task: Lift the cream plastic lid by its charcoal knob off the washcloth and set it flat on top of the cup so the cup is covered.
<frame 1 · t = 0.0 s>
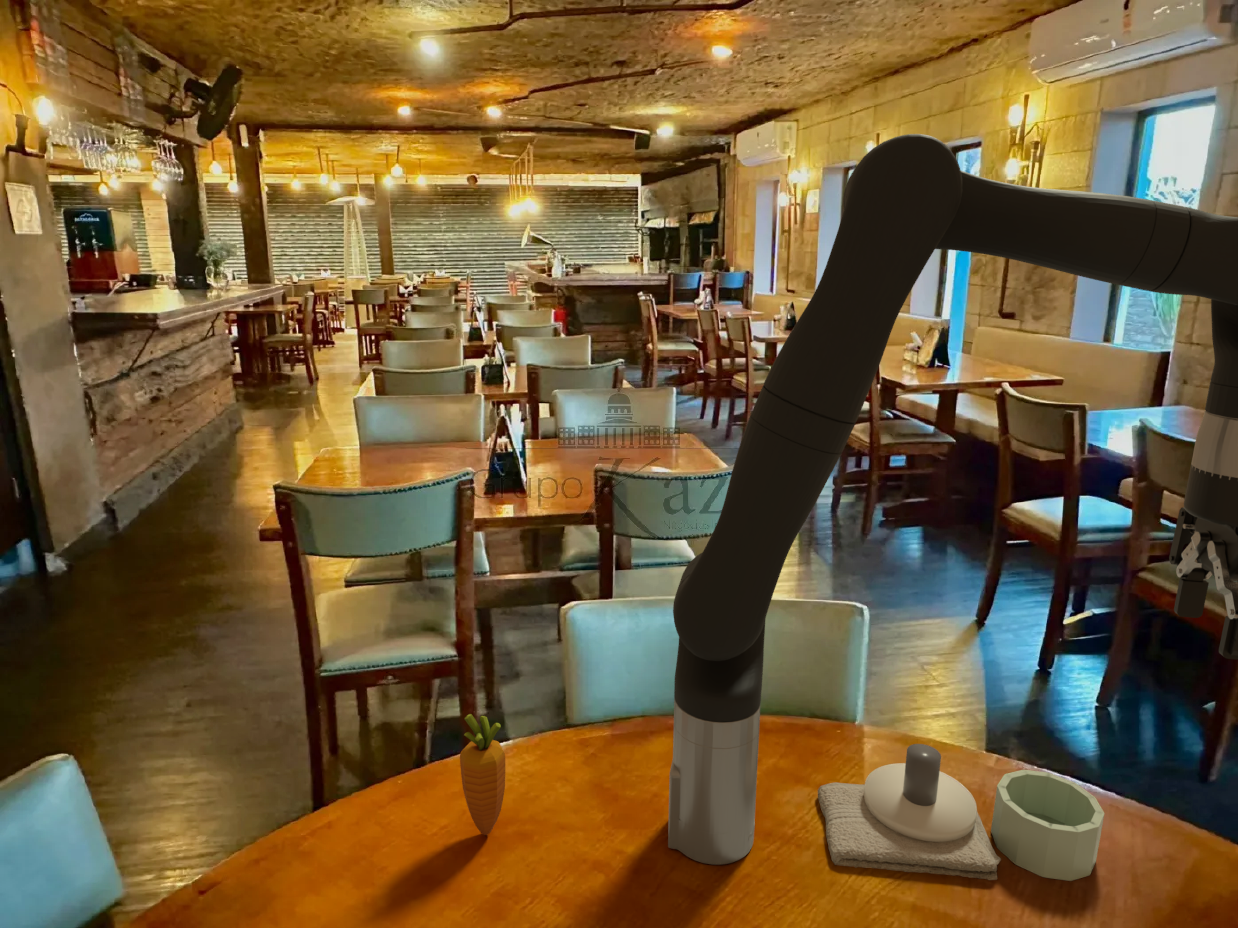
hand: (1209, 635, 73), 29 cm above the table, tool pointing down, fingers open, 8 cm apart
cup: (1042, 845, 88), on the table
lid: (918, 804, 91), point 2 cm above the table, touching washcloth
carrot: (486, 835, 89), on the table
washcloth: (903, 841, 90), on the table, touching lid
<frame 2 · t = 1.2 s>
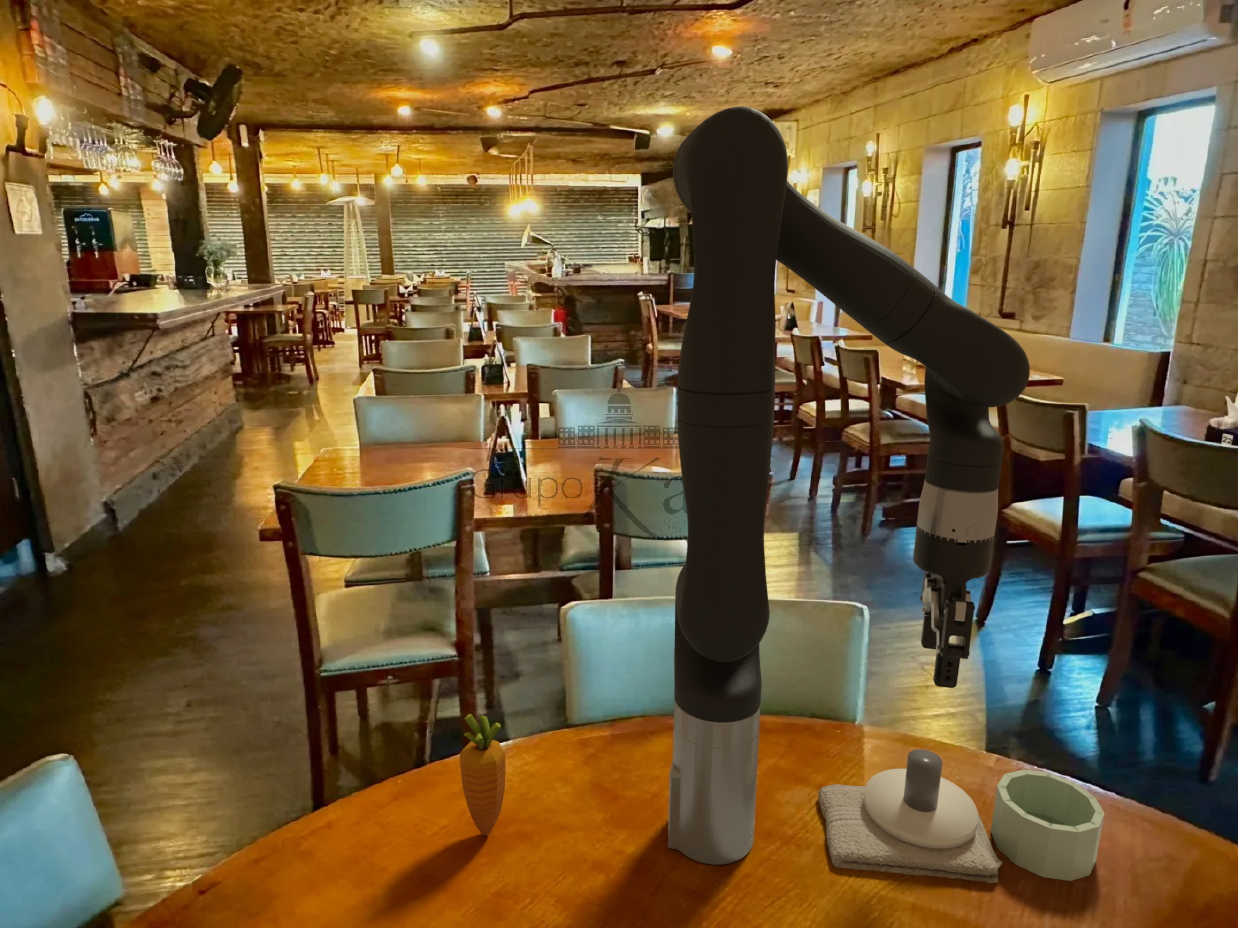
hand: (937, 665, 87), 20 cm above the table, tool pointing down, fingers open, 8 cm apart
nothing on the table moved.
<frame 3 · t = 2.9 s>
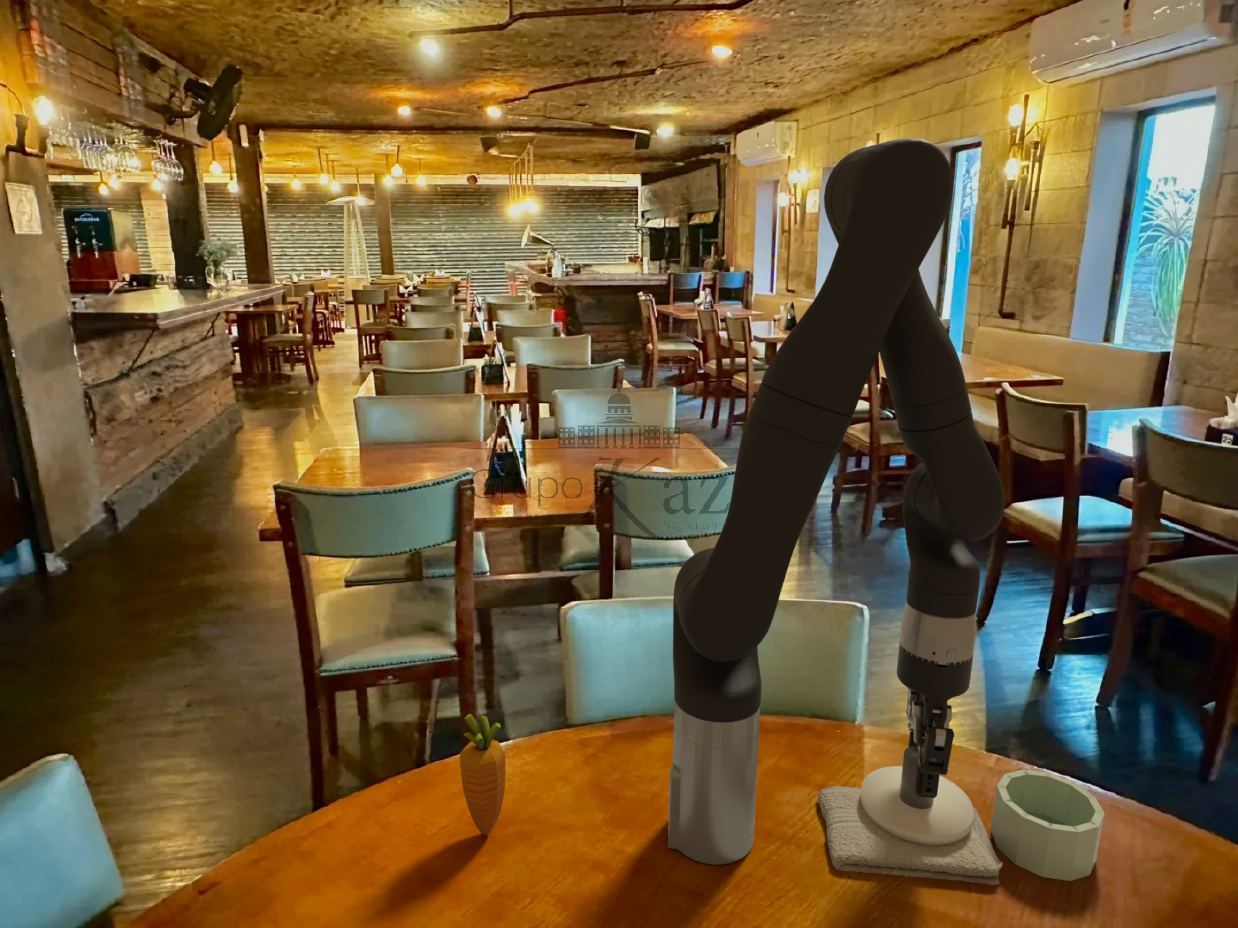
hand: (921, 777, 90), 6 cm above the table, tool pointing down, fingers open, 5 cm apart
nothing on the table moved.
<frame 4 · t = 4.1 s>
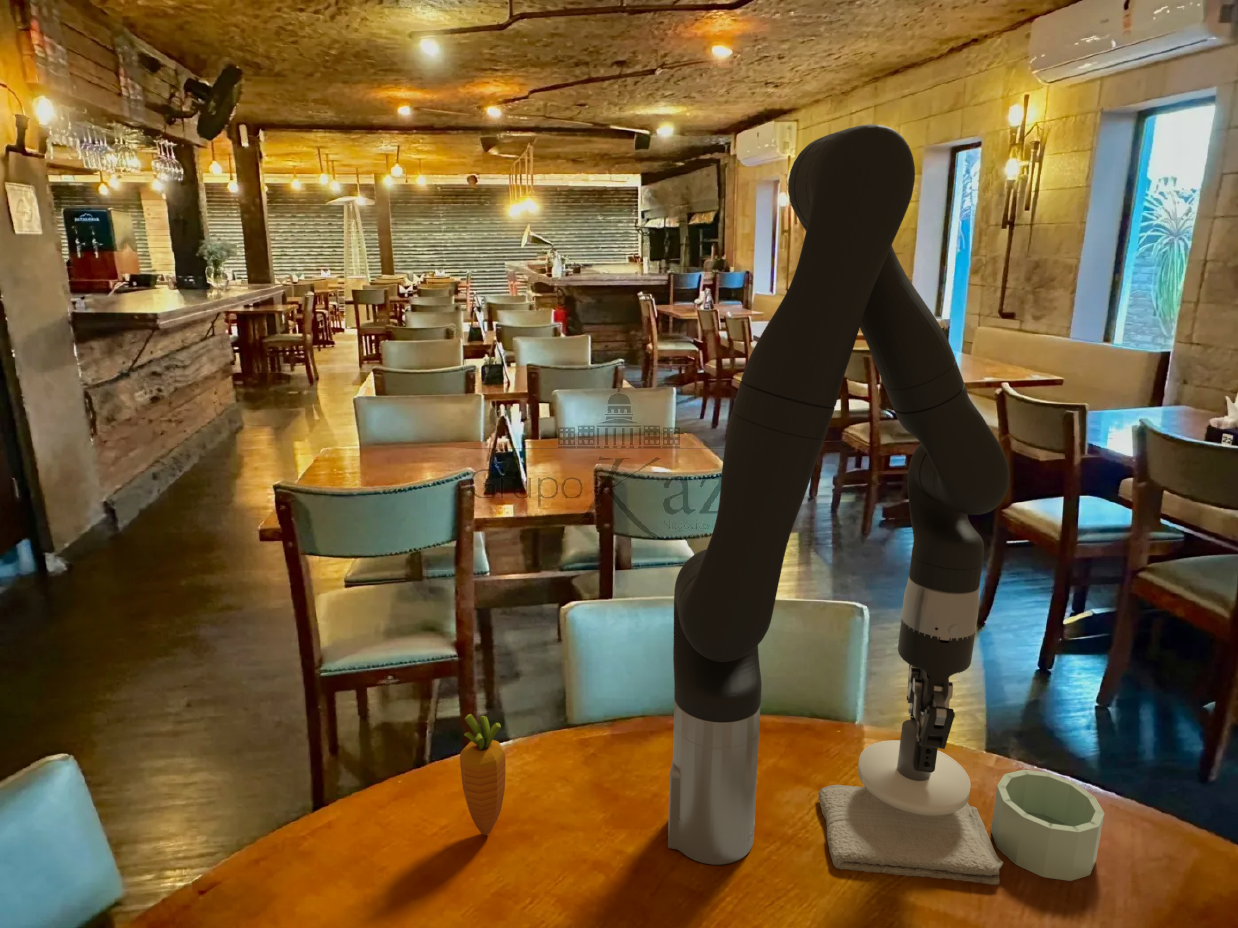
hand: (920, 758, 90), 8 cm above the table, tool pointing down, fingers closed on lid, 3 cm apart
lid: (912, 779, 91), point 5 cm above the table, touching gripper
washcloth: (904, 844, 89), on the table
everything else where it was.
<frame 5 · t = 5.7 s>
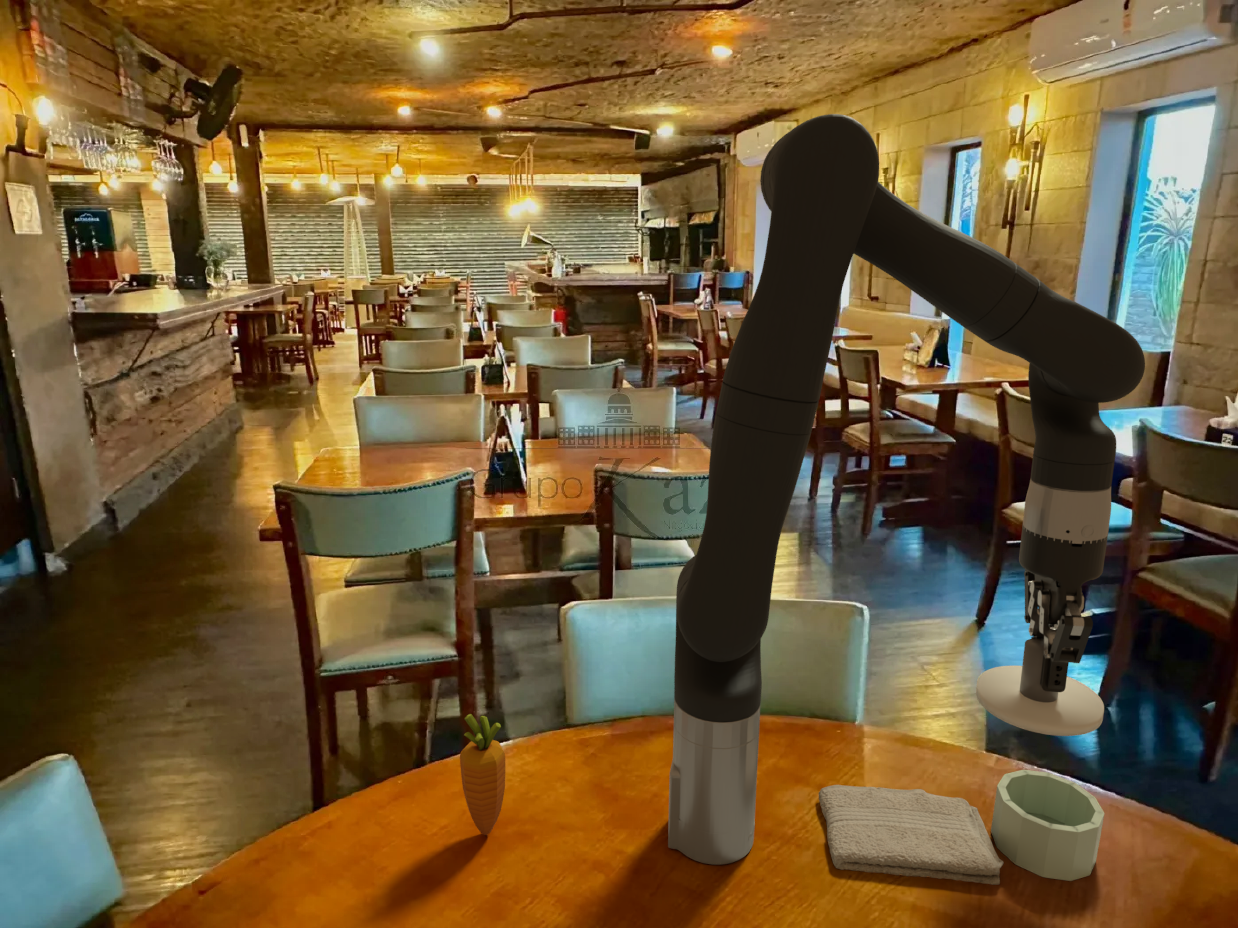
hand: (1045, 679, 84), 20 cm above the table, tool pointing down, fingers closed on lid, 3 cm apart
lid: (1037, 703, 85), point 17 cm above the table, touching gripper
everything else where it was.
when the fingers open (10 cm above the table, at t = 8.0 s): lid drops 1 cm, resting on cup.
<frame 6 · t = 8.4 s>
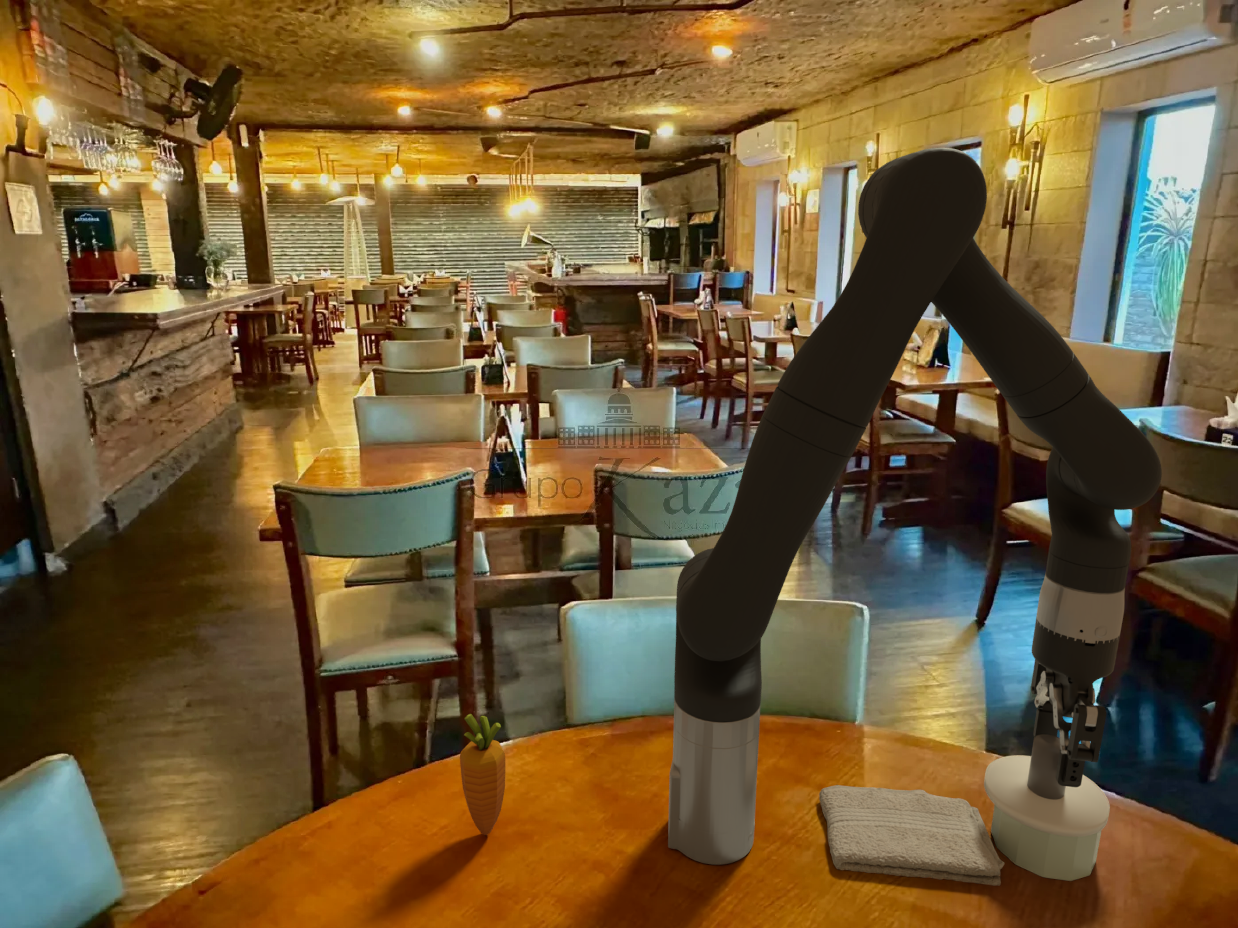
hand: (1055, 761, 85), 11 cm above the table, tool pointing down, fingers open, 7 cm apart
lid: (1044, 798, 87), point 6 cm above the table, touching cup
everything else where it was.
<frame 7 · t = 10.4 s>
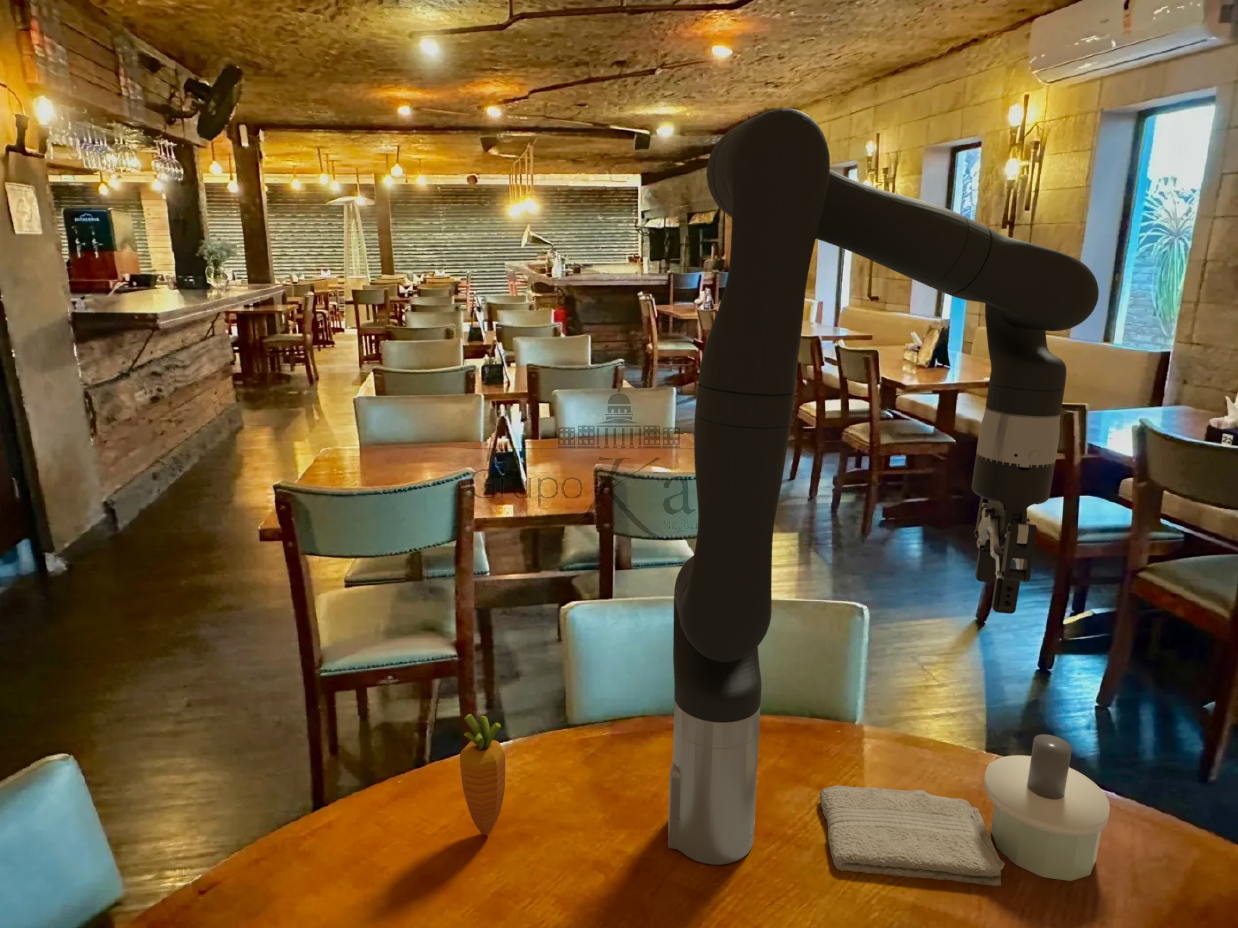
hand: (993, 595, 87), 27 cm above the table, tool pointing down, fingers open, 8 cm apart
nothing on the table moved.
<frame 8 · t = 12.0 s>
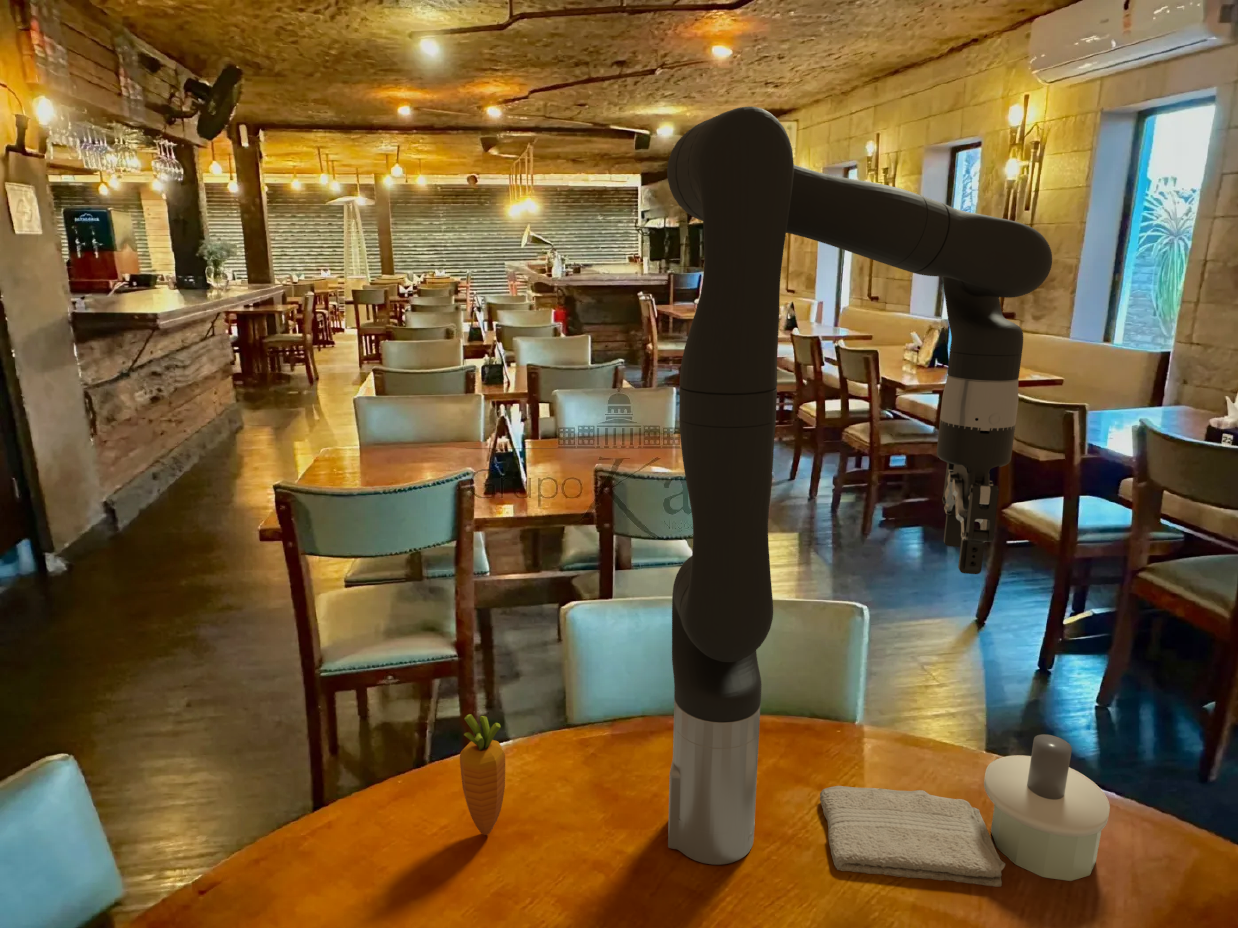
hand: (961, 558, 90), 30 cm above the table, tool pointing down, fingers open, 8 cm apart
nothing on the table moved.
at the end: lid 0.5 cm off-centre on the cup, point 6.0 cm above the cup's base; lid tilted 0°; the gripper is holding nothing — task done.
